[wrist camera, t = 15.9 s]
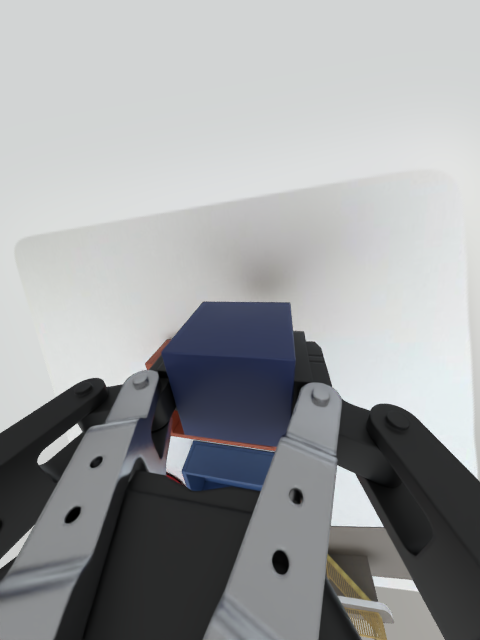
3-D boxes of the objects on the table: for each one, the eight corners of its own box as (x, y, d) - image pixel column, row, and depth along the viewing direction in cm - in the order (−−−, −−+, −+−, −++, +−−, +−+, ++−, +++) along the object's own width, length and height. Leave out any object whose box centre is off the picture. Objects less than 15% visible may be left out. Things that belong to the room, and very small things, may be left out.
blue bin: (203, 478, 38) (194, 509, 34) (193, 440, 33) (181, 471, 29) (276, 492, 36) (275, 527, 32) (277, 452, 31) (276, 488, 27)
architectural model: (263, 525, 42) (255, 653, 30) (406, 528, 34) (476, 711, 21) (299, 568, 50) (304, 686, 37) (425, 581, 41) (486, 741, 28)
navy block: (213, 367, 13) (184, 435, 9) (202, 301, 11) (160, 351, 7) (286, 372, 12) (289, 449, 8) (290, 302, 10) (296, 359, 6)
